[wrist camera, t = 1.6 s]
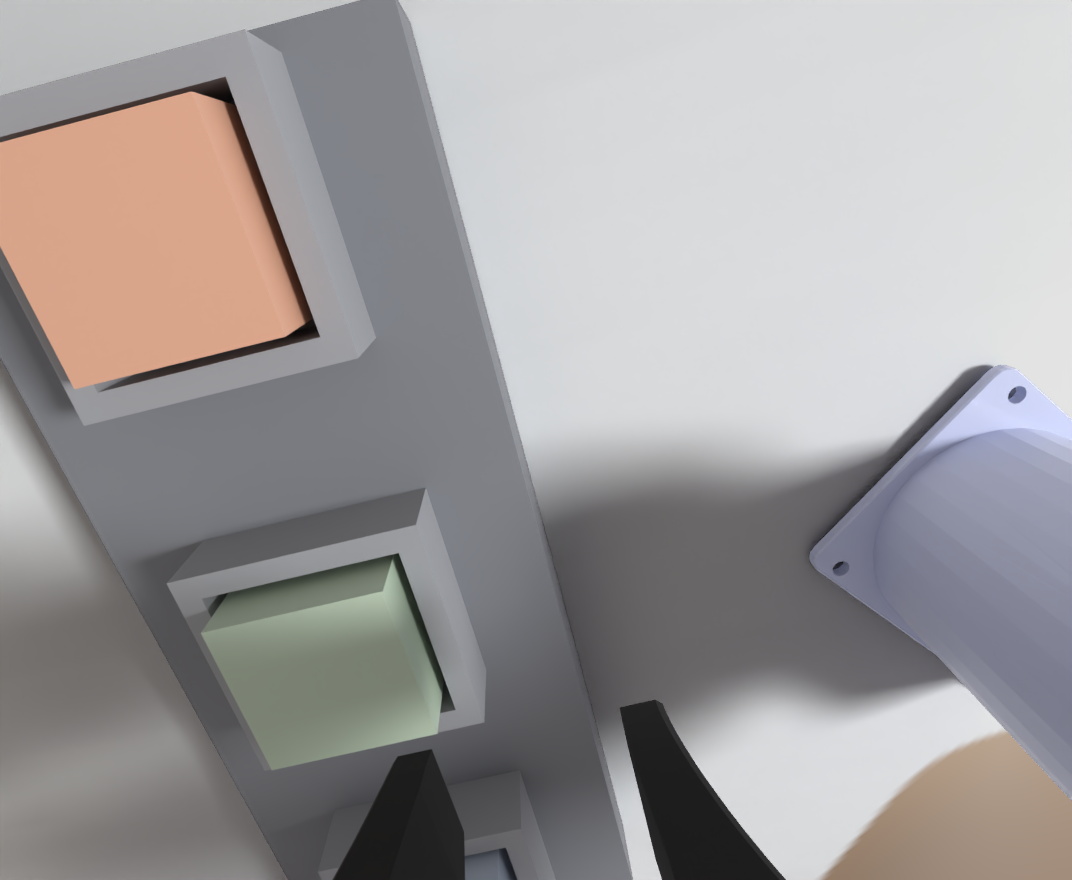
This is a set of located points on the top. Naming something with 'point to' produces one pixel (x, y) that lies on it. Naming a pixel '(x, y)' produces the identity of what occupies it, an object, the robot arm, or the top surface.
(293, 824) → the button panel
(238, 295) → the terracotta button
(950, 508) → the robot arm
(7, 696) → the top surface
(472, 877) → the slate button
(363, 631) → the sage button
